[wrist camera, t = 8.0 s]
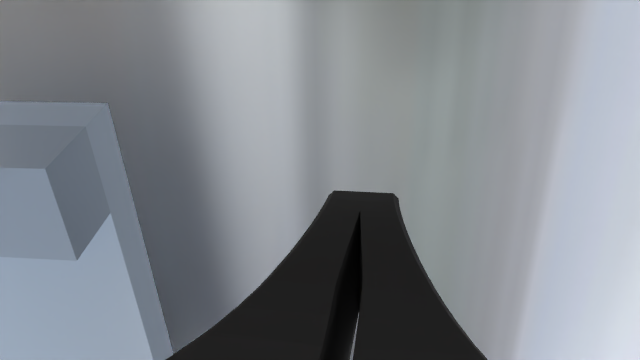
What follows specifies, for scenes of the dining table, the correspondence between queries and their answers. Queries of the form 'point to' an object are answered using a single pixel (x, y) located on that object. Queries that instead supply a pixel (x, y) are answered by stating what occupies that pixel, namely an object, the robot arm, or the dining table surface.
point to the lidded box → (71, 241)
